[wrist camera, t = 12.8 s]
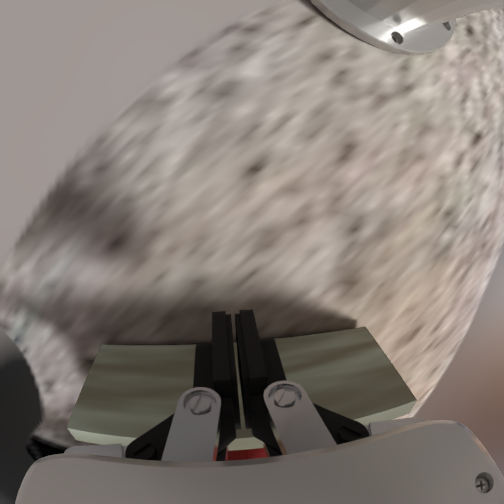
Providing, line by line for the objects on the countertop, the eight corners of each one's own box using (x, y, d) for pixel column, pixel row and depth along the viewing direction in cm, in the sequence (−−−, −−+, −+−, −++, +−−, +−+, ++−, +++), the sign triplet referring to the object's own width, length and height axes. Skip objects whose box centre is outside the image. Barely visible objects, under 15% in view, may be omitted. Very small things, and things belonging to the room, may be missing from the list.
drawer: (101, 344, 17) (66, 428, 10) (365, 326, 19) (416, 400, 12) (151, 450, 23) (145, 512, 16) (333, 436, 24) (355, 493, 18)
